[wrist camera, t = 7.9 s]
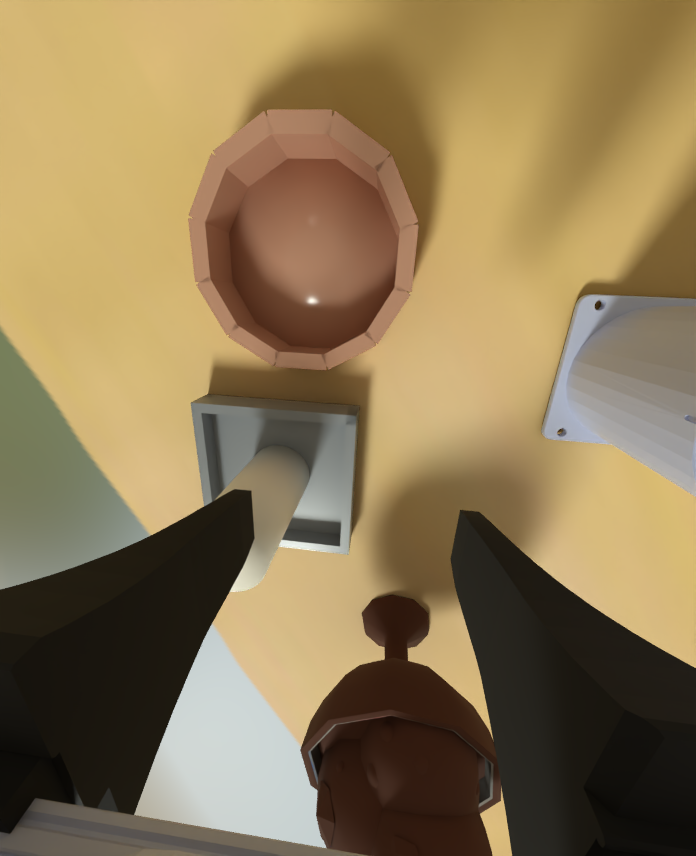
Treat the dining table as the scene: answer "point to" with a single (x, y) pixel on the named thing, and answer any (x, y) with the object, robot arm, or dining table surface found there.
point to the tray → (299, 430)
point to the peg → (269, 505)
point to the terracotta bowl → (303, 238)
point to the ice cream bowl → (400, 752)
